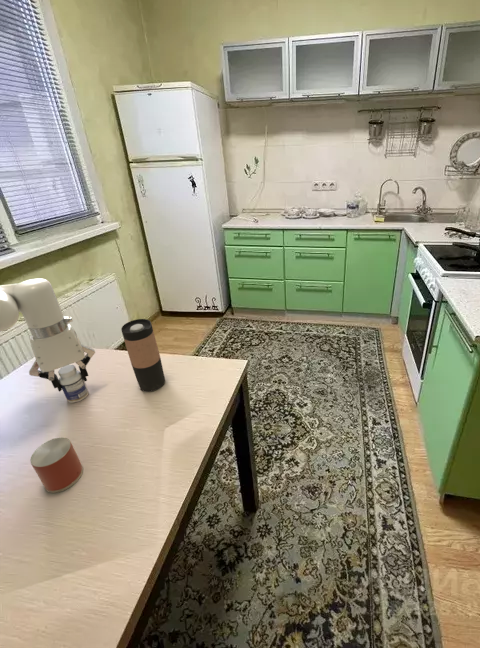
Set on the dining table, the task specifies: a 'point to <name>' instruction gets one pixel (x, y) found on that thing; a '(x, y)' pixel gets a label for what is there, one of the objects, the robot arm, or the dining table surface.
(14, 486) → the dining table surface
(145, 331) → the travel mug
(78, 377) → the pill bottle
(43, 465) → the tin can
